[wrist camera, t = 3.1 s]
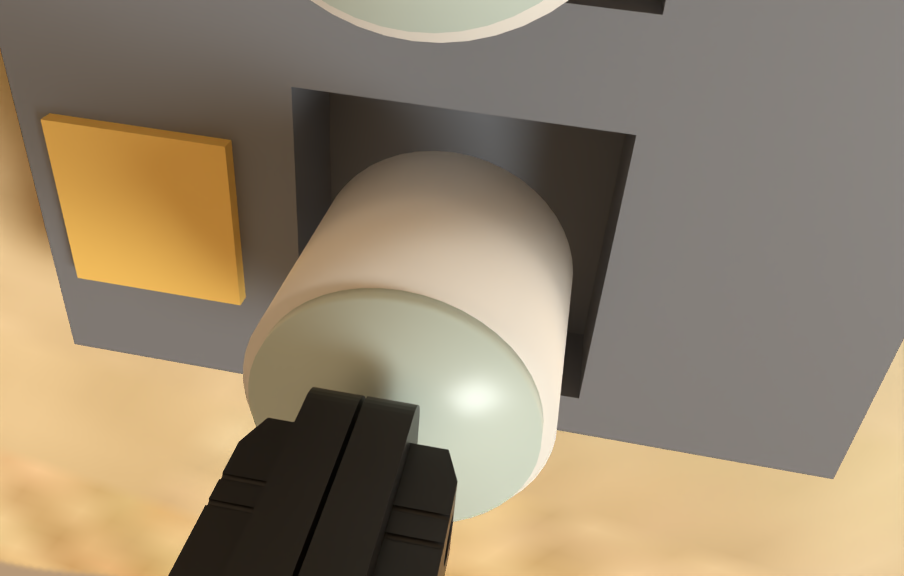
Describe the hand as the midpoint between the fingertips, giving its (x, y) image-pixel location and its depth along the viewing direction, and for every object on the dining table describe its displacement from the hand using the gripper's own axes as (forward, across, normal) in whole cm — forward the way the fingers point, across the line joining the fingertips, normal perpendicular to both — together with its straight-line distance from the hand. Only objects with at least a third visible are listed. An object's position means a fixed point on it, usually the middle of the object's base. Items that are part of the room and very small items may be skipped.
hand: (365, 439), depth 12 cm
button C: (+5, 0, 0) cm, 5 cm away
